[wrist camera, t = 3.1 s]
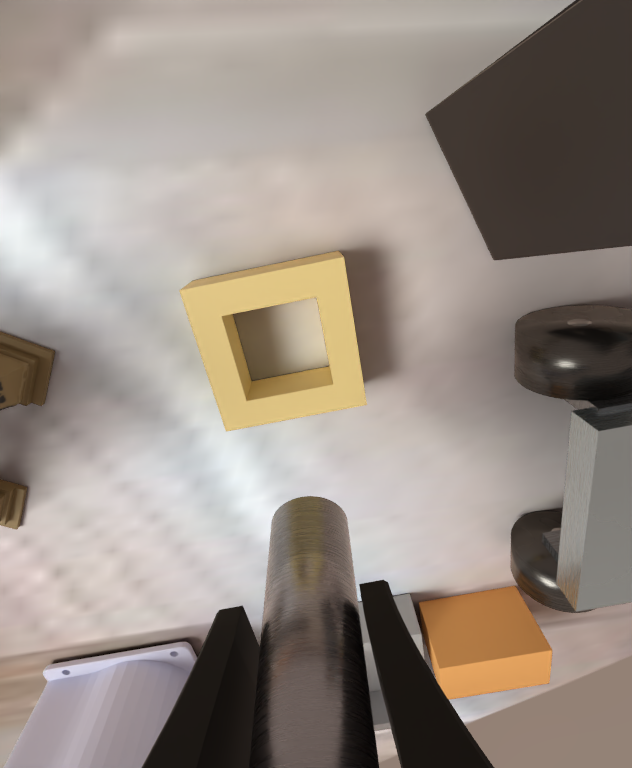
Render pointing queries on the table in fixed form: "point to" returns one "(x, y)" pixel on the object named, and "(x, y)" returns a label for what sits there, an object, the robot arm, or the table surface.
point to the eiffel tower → (24, 386)
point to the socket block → (287, 392)
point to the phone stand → (549, 136)
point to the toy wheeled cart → (581, 458)
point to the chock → (484, 643)
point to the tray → (375, 691)
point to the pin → (311, 647)
